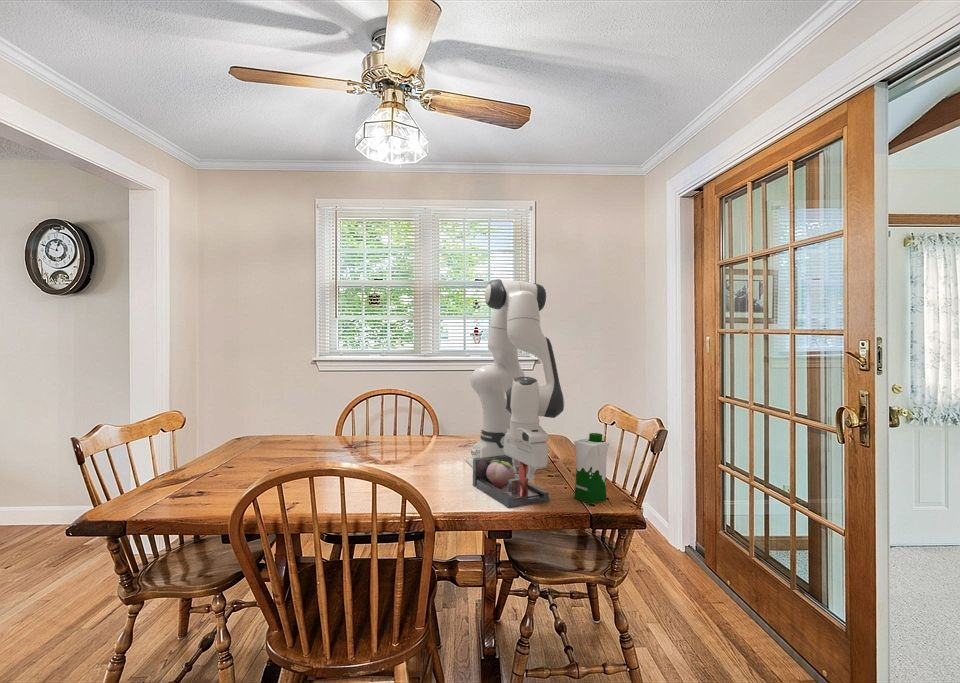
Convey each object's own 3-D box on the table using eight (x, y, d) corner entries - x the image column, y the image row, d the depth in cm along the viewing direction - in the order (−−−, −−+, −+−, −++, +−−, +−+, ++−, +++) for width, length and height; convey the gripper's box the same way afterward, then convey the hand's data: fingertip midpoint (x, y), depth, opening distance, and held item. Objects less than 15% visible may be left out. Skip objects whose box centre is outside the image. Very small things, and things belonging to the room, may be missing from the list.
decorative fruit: (519, 487, 171) (519, 457, 171) (507, 494, 164) (507, 462, 164) (494, 482, 176) (495, 453, 176) (481, 488, 169) (482, 458, 169)
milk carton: (610, 500, 160) (612, 435, 159) (591, 506, 154) (592, 439, 154) (588, 493, 167) (590, 431, 166) (569, 498, 161) (570, 434, 161)
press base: (472, 485, 173) (473, 458, 173) (509, 480, 179) (510, 454, 179) (508, 507, 152) (508, 477, 151) (548, 501, 158) (549, 472, 158)
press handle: (501, 498, 160) (502, 460, 159) (528, 494, 164) (529, 457, 164) (511, 504, 154) (512, 465, 154) (539, 500, 158) (540, 462, 158)
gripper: (499, 425, 165) (498, 469, 165) (533, 438, 147) (532, 486, 147) (516, 424, 168) (515, 466, 168) (552, 436, 149) (551, 484, 150)
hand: (523, 476), depth 157 cm, fingers open, 6 cm apart
